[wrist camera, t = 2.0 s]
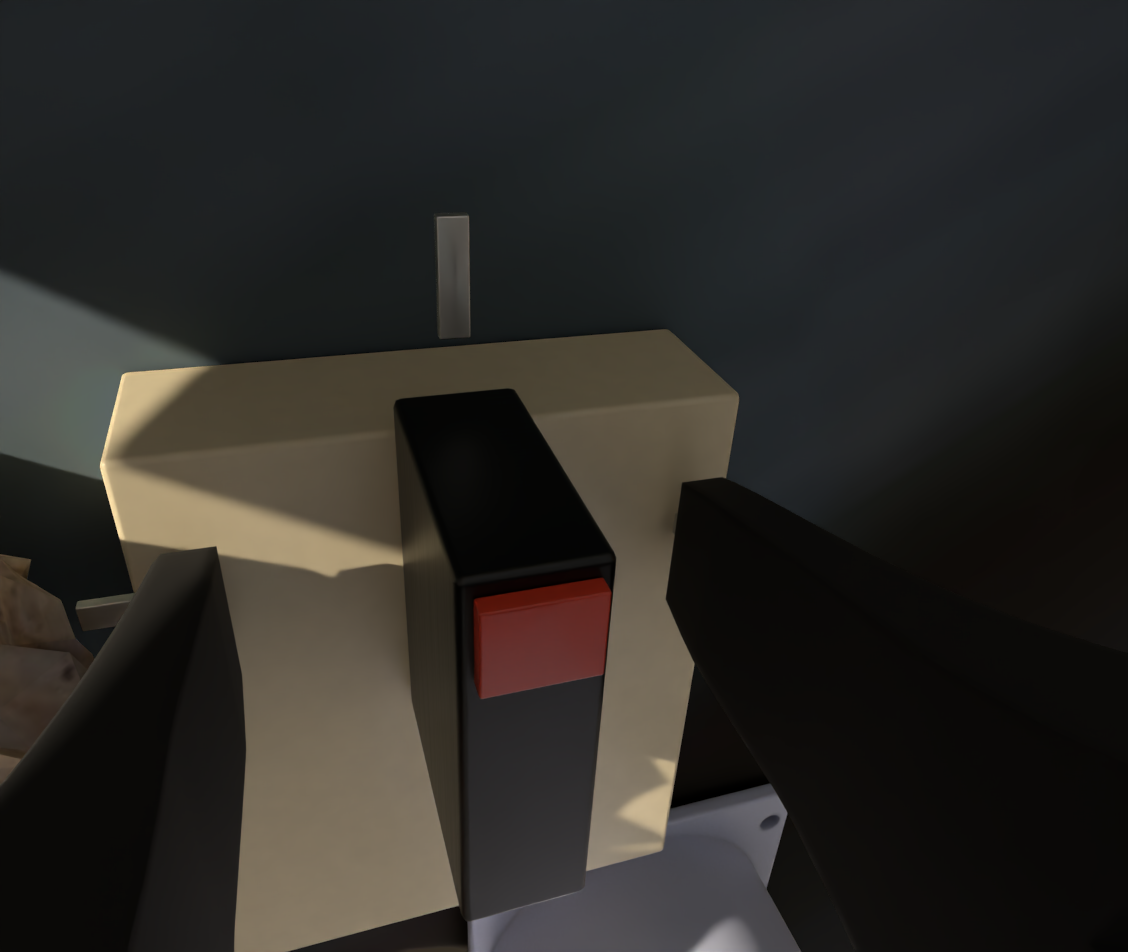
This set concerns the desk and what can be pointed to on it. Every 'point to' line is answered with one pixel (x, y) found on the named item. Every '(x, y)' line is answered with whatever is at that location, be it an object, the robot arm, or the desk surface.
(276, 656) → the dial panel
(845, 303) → the desk surface
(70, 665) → the mineral specimen
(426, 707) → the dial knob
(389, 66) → the desk surface
